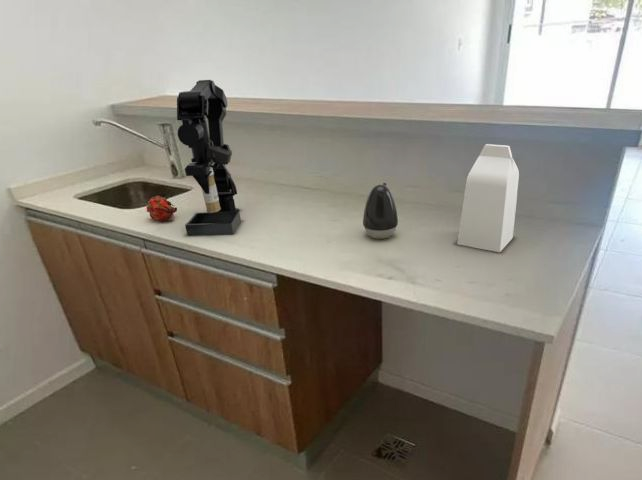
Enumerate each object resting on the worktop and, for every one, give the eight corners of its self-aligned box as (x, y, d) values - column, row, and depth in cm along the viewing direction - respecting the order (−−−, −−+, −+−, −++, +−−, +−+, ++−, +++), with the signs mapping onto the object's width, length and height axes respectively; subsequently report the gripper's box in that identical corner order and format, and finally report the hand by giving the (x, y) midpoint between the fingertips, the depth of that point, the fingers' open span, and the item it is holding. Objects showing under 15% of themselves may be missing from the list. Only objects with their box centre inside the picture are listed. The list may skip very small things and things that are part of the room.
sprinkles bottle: (214, 206, 151) (205, 165, 143) (224, 209, 148) (215, 167, 141) (203, 211, 148) (193, 169, 140) (213, 214, 145) (203, 171, 138)
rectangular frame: (198, 222, 156) (195, 212, 154) (240, 221, 155) (239, 211, 154) (187, 235, 146) (185, 225, 144) (233, 234, 146) (231, 223, 144)
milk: (457, 244, 131) (465, 148, 117) (472, 230, 139) (481, 139, 125) (499, 252, 125) (514, 152, 111) (512, 237, 133) (527, 142, 119)
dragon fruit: (156, 219, 166) (176, 230, 160) (135, 211, 159) (155, 223, 153) (165, 197, 165) (186, 207, 159) (145, 188, 158) (166, 199, 152)
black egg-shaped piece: (401, 230, 141) (402, 180, 134) (393, 243, 133) (393, 191, 125) (368, 228, 145) (368, 178, 137) (359, 240, 136) (357, 189, 128)
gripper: (218, 144, 128) (228, 199, 136) (233, 131, 144) (241, 182, 152) (178, 146, 129) (190, 201, 137) (198, 133, 144) (208, 183, 153)
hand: (209, 191), depth 145 cm, fingers closed on sprinkles bottle, 4 cm apart
